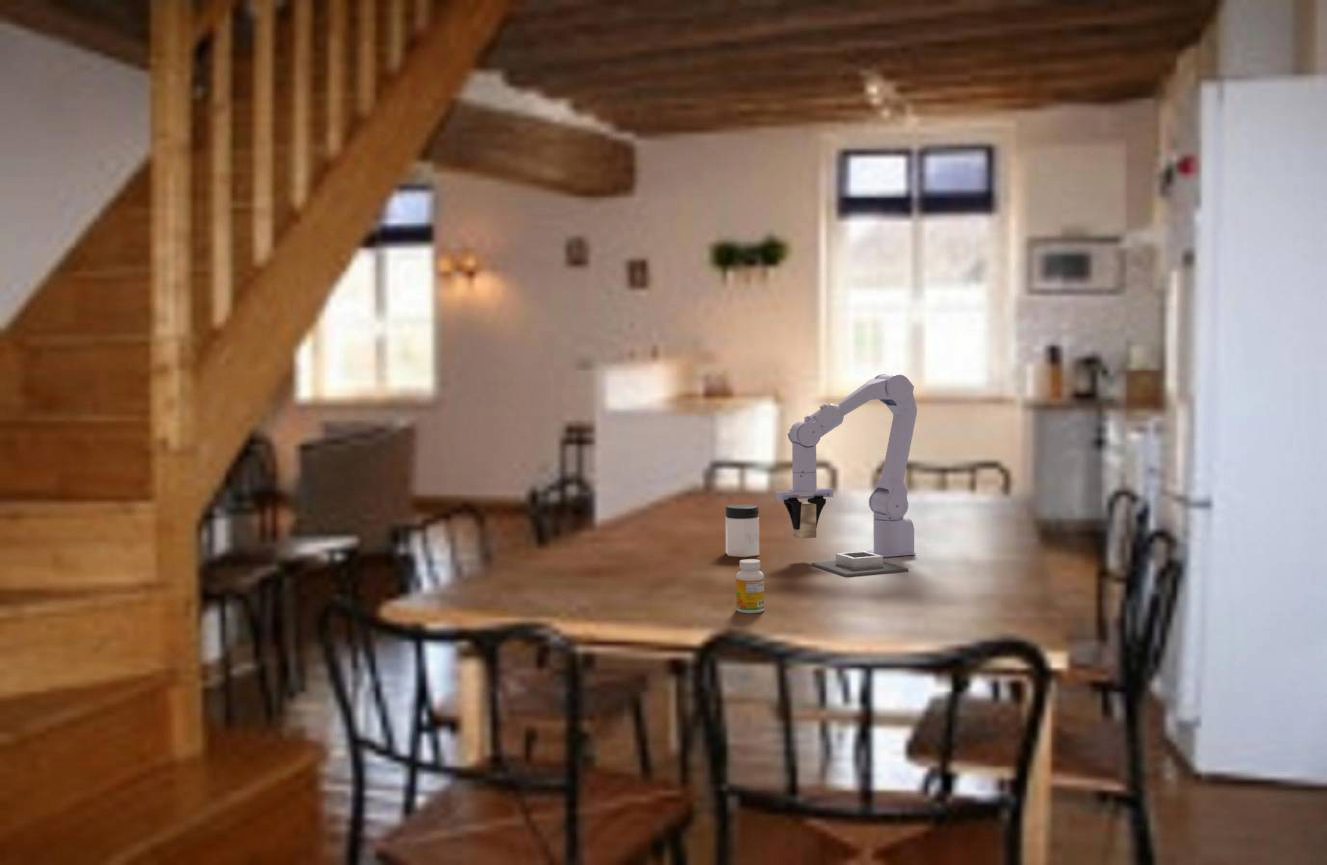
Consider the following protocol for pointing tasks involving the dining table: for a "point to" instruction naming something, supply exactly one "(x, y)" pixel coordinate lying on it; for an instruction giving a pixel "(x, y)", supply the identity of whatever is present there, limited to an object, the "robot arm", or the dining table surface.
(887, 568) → the mat
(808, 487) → the robot arm
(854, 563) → the socket
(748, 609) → the supplement bottle
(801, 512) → the beige block
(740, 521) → the jar
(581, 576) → the dining table surface
